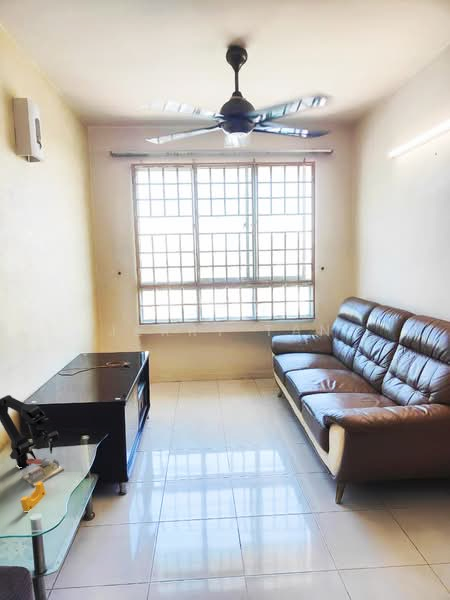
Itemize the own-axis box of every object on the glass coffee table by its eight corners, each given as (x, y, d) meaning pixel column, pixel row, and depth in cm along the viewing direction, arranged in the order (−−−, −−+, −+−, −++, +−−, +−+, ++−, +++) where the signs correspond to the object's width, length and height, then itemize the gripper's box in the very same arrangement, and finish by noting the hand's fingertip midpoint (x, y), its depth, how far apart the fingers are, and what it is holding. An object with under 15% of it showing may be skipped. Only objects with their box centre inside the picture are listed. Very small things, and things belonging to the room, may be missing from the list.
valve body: (28, 480, 191) (26, 472, 190) (55, 465, 201) (53, 457, 200) (33, 483, 187) (31, 475, 186) (60, 468, 197) (58, 460, 196)
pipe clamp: (37, 494, 178) (34, 482, 177) (46, 494, 178) (42, 482, 177) (20, 513, 167) (16, 500, 166) (29, 512, 166) (25, 499, 165)
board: (22, 477, 196) (21, 475, 195) (50, 462, 207) (50, 460, 206) (34, 486, 185) (34, 485, 185) (64, 470, 196) (63, 468, 196)
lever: (25, 465, 197) (24, 461, 196) (31, 460, 200) (30, 457, 200) (45, 466, 192) (44, 462, 192) (51, 462, 196) (50, 458, 195)
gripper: (18, 443, 186) (26, 471, 189) (58, 427, 197) (65, 454, 200) (15, 435, 196) (23, 462, 198) (53, 420, 206) (60, 446, 209)
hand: (43, 456), depth 201 cm, fingers open, 7 cm apart
